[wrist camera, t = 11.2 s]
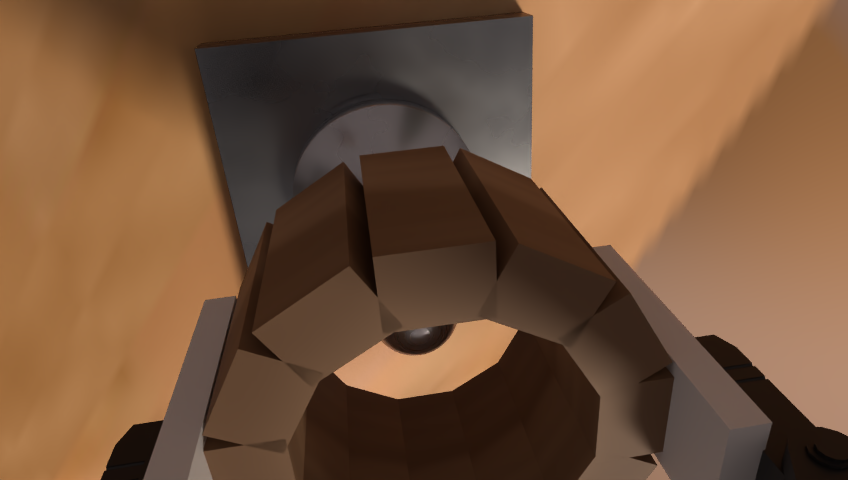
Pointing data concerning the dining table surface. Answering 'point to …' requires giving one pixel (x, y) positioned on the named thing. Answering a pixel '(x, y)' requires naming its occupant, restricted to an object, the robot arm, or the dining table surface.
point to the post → (365, 109)
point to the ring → (428, 307)
